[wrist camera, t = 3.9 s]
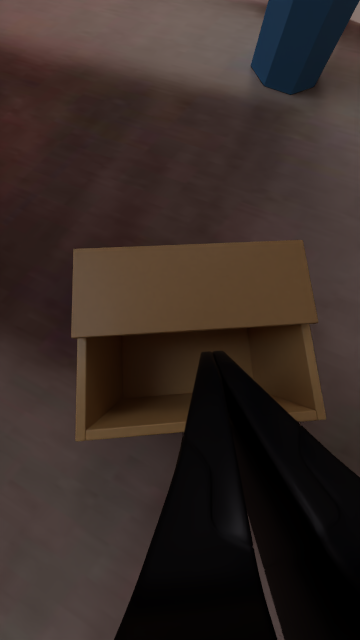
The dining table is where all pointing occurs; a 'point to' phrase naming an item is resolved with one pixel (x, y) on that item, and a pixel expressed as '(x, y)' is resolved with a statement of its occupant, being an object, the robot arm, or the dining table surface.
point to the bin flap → (190, 288)
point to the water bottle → (298, 41)
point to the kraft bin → (186, 377)
